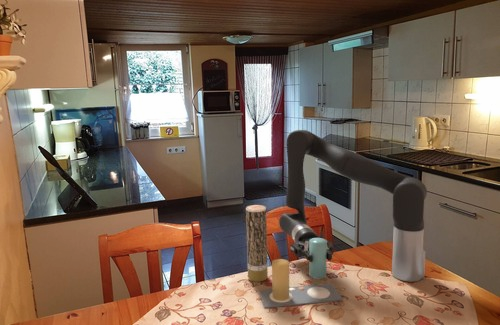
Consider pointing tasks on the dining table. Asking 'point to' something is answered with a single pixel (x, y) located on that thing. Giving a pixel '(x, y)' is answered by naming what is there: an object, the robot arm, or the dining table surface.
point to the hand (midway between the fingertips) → (320, 258)
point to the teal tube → (318, 257)
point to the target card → (302, 295)
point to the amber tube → (280, 279)
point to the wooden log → (256, 242)
